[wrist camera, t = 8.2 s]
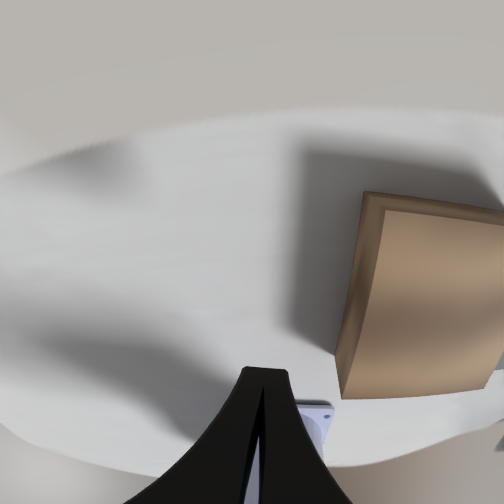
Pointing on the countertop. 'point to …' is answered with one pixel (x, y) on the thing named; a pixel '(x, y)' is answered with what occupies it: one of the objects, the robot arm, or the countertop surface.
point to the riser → (422, 299)
